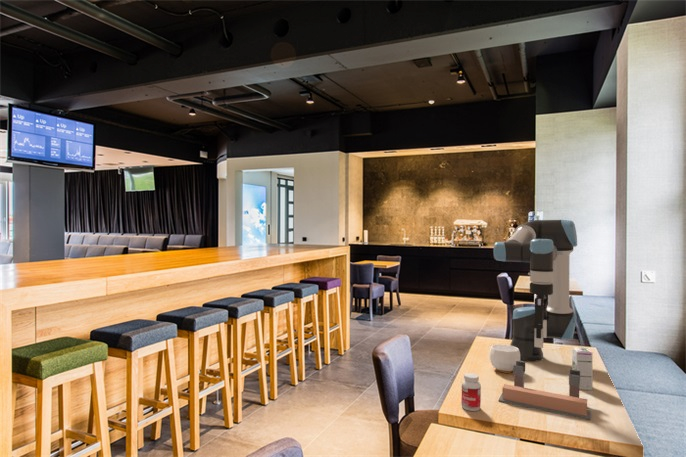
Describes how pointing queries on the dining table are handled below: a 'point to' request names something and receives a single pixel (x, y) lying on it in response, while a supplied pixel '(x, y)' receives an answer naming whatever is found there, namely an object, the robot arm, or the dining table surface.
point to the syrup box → (583, 366)
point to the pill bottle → (471, 392)
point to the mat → (547, 409)
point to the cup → (504, 357)
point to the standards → (573, 378)
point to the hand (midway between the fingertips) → (540, 342)
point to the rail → (545, 399)
